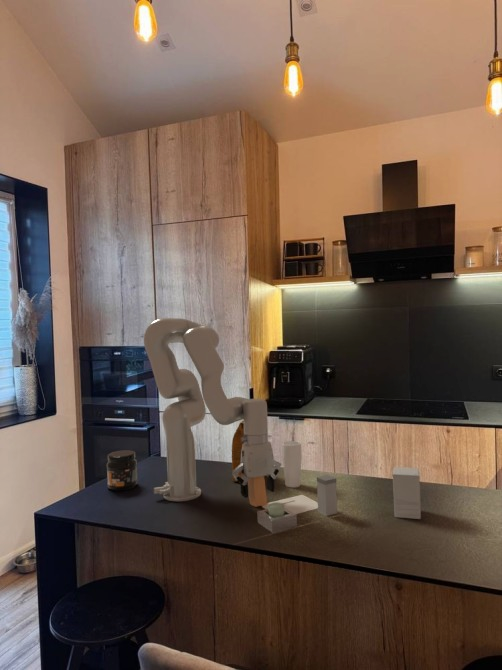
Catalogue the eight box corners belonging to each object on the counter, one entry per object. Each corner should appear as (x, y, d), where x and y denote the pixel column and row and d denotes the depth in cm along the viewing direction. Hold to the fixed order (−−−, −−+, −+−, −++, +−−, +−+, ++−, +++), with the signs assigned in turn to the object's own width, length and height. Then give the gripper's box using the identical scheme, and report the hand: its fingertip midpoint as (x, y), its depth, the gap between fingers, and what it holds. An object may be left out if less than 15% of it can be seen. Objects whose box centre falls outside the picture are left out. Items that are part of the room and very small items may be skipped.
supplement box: (420, 510, 141) (419, 467, 141) (421, 520, 134) (419, 475, 134) (394, 507, 143) (393, 466, 143) (393, 517, 136) (392, 473, 136)
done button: (274, 522, 131) (273, 509, 130) (266, 517, 134) (265, 504, 134) (287, 518, 133) (287, 506, 133) (279, 513, 136) (278, 501, 136)
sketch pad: (280, 519, 138) (280, 517, 138) (259, 506, 148) (259, 504, 148) (324, 507, 145) (324, 506, 145) (302, 495, 156) (302, 494, 156)
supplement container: (101, 489, 169) (99, 456, 168) (120, 480, 178) (118, 448, 178) (125, 492, 165) (124, 458, 164) (143, 483, 174) (142, 450, 174)
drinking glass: (302, 482, 169) (301, 440, 169) (302, 489, 162) (301, 445, 162) (283, 482, 170) (282, 440, 169) (282, 489, 163) (281, 445, 163)
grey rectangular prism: (326, 517, 138) (325, 480, 138) (317, 512, 142) (316, 477, 141) (337, 514, 140) (336, 478, 140) (328, 509, 144) (327, 474, 143)
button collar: (272, 533, 128) (271, 520, 128) (257, 523, 135) (257, 511, 135) (296, 526, 132) (296, 514, 132) (281, 517, 139) (281, 505, 139)
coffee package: (268, 475, 179) (266, 417, 179) (252, 485, 168) (250, 423, 168) (244, 472, 184) (242, 415, 183) (228, 482, 173) (226, 421, 172)
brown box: (255, 506, 146) (252, 471, 147) (249, 504, 150) (246, 470, 151) (267, 504, 148) (263, 469, 149) (260, 501, 152) (257, 468, 153)
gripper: (236, 445, 141) (238, 503, 142) (285, 437, 150) (287, 491, 150) (225, 440, 148) (227, 495, 148) (273, 432, 156) (275, 485, 156)
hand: (258, 493), depth 149 cm, fingers open, 8 cm apart
